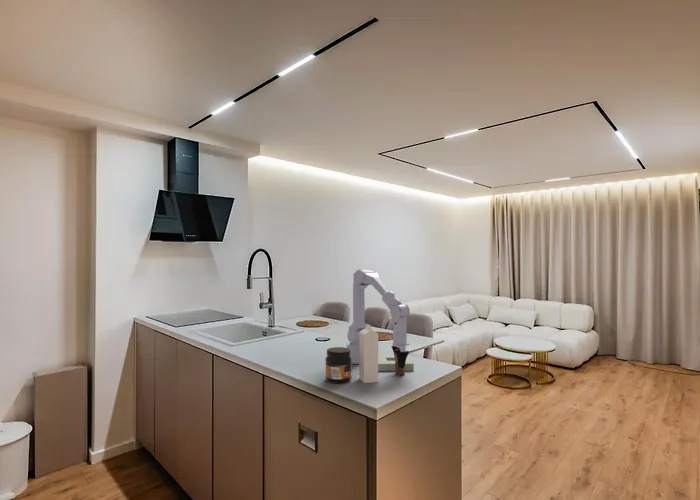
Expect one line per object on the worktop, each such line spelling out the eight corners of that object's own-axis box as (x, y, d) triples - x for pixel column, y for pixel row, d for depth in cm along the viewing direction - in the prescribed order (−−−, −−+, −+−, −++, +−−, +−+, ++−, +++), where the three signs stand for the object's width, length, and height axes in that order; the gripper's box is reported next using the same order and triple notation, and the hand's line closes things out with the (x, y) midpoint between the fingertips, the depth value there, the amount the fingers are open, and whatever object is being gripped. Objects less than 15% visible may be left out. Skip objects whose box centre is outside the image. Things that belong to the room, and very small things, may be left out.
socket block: (377, 370, 161) (377, 363, 161) (372, 361, 176) (373, 354, 177) (413, 370, 161) (413, 363, 161) (406, 361, 177) (406, 354, 177)
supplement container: (334, 386, 140) (334, 354, 141) (320, 379, 149) (320, 348, 149) (356, 381, 147) (357, 350, 147) (341, 374, 155) (341, 345, 156)
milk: (363, 383, 144) (363, 326, 144) (359, 378, 149) (359, 323, 150) (378, 382, 145) (378, 325, 146) (373, 377, 151) (373, 323, 152)
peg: (395, 374, 154) (396, 350, 155) (394, 372, 158) (394, 348, 159) (405, 374, 154) (405, 350, 155) (403, 372, 158) (403, 348, 159)
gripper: (412, 336, 150) (413, 370, 149) (405, 329, 164) (405, 360, 164) (395, 336, 149) (395, 370, 149) (389, 329, 164) (389, 360, 163)
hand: (399, 365), depth 156 cm, fingers open, 7 cm apart
